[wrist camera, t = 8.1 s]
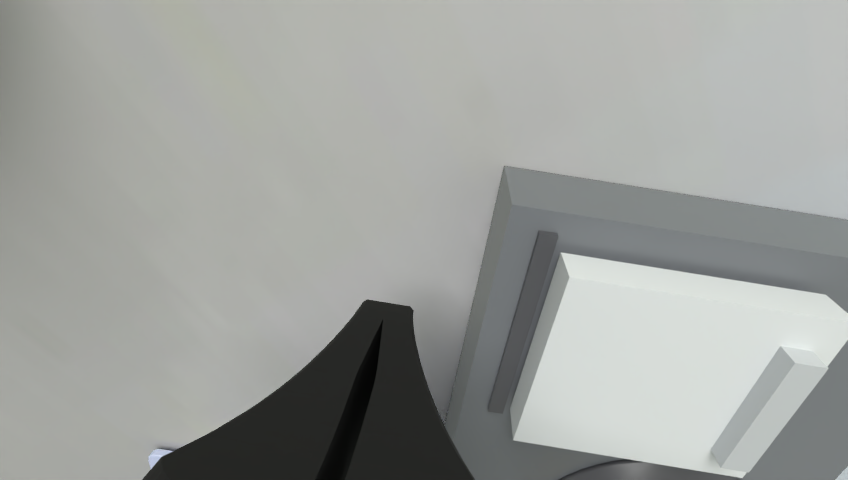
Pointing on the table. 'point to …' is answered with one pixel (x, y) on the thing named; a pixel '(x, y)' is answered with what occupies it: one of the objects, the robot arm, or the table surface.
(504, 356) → the grey flat block
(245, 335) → the table surface
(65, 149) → the table surface
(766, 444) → the hatch cover
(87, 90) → the table surface
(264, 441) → the robot arm
